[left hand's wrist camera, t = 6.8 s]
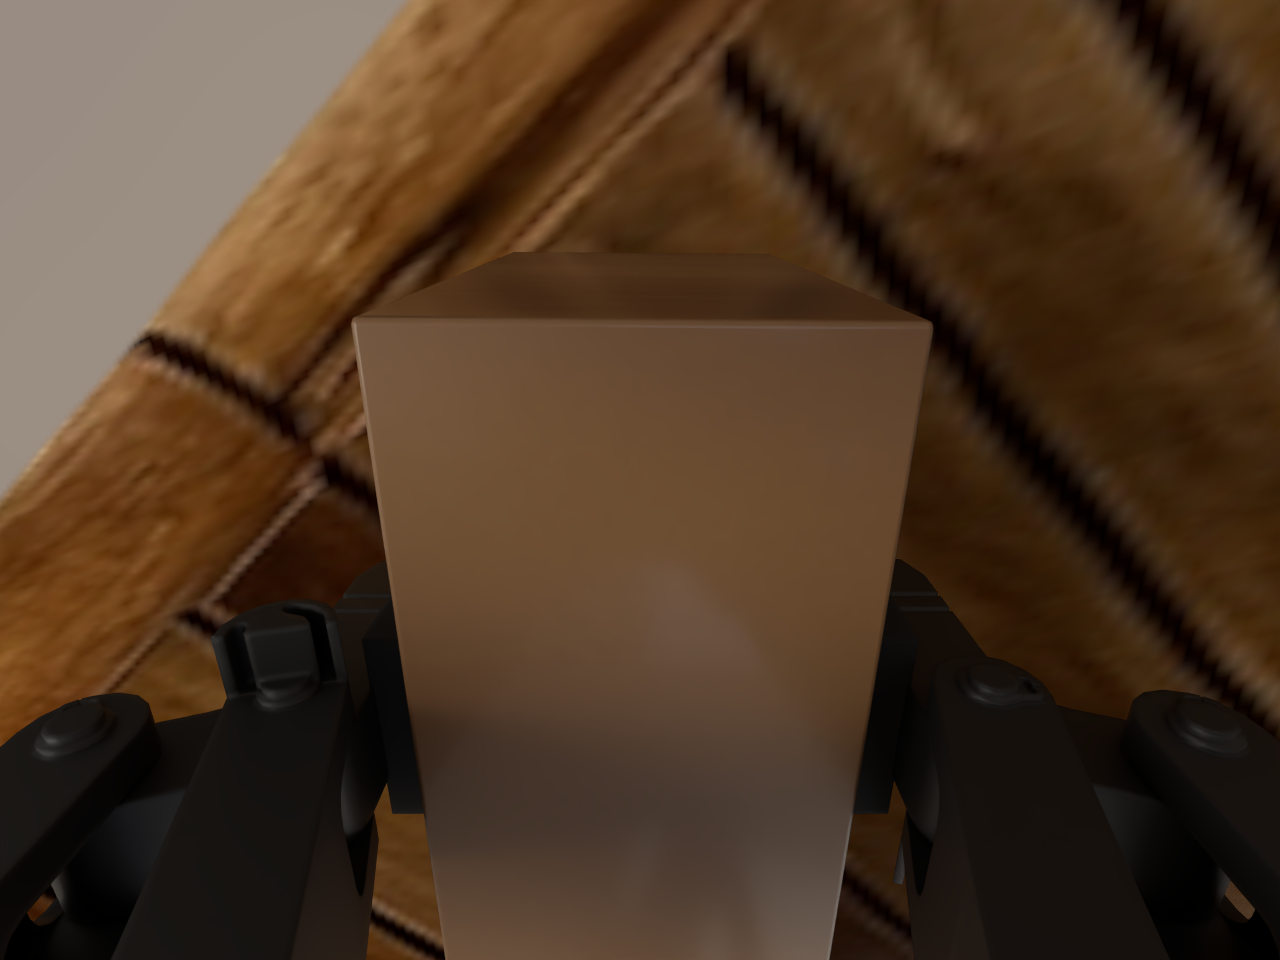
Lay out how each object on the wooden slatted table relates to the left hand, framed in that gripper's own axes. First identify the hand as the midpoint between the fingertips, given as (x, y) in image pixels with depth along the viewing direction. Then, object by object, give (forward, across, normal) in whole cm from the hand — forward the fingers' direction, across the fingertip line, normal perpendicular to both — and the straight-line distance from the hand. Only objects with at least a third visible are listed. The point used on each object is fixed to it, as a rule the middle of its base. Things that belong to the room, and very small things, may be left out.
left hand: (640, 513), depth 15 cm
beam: (+1, 0, -24) cm, 25 cm away
